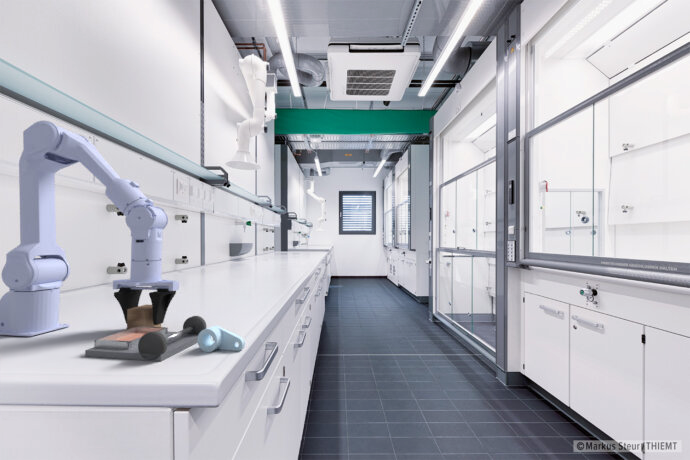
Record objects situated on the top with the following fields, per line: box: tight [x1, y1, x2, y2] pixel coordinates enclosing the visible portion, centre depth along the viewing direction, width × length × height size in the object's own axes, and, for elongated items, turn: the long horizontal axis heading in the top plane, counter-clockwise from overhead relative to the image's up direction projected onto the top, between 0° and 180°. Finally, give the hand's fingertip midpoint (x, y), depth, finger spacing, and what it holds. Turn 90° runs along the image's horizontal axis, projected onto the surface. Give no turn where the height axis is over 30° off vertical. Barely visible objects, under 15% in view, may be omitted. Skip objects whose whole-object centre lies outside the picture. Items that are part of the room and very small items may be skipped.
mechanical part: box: [197, 324, 246, 353], centre depth 55 cm, size 8×2×4 cm, turn 75°
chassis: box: [84, 315, 207, 362], centre depth 57 cm, size 14×12×4 cm
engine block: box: [126, 304, 162, 330], centre depth 68 cm, size 4×5×5 cm
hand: (144, 323), depth 68 cm, fingers open, 6 cm apart
